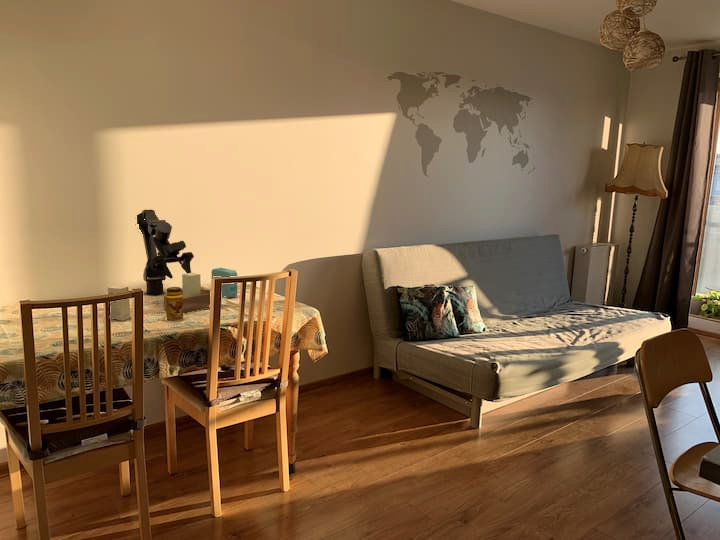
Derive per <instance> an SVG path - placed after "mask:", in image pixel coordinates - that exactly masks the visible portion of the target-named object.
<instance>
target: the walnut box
mask: <svg viewBox="0 0 720 540" xmlns="http://www.w3.org/2000/svg"><path fill="white" fill-rule="evenodd" d="M203 288H204V287H202V288H201V295H197V296H192V297H187V298H183V313H185V314H189V313H188V312H190V313H194V312H198V311H197V310H199V311H202V310H201V309H203V310H206V309H205V308H208V309H210V308H209V305H210V290H211V289H207V288H204V289H203ZM166 295H167V294H164V295H163V305H164V306H163V309H164V311H166ZM193 311H194V312H193Z"/></svg>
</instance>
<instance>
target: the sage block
mask: <svg viewBox="0 0 720 540" xmlns="http://www.w3.org/2000/svg"><path fill="white" fill-rule="evenodd" d="M181 275H182V276H181V279H182V281H181V282H182V283H181V284H182V288H181V290H182V289H183V298H187V297H192V296H197V295H201V287H202V286H201V273H196V272H191V273H182V274H181Z"/></svg>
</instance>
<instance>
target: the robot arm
mask: <svg viewBox="0 0 720 540" xmlns="http://www.w3.org/2000/svg"><path fill="white" fill-rule="evenodd" d="M136 216H137V224H139V229H140V230H141V232H142V234H143V235H142V234H141V235H142V237H143V238H142V239H143V244H144V249H145V254H146V260H147V261H146V264H145V268H143V269H144V270H143V277H142V278H143V279H142V280H144V282H146V283H145V284H146V292H144V293H143V294H144V295H149V296H159V295H162V294H165V293H166V291H164V283H163V281H166V277H168V278H169V279H173V278H174V276H173V274H172V273H171V272H172V271H170V269H169V267H168V264H172V263H178V264H179V265H180V267H181V269H182V270H183V271H184V272H186V273H185V274H187V273H192V269H191V261H192V260H193V259H194V257H195V255H194V254H193V252H191V251H188V252H183V253H182V254H181V255H180V252H181V251H184V249H185V248H187V245H186V243H185V241H184V240H180V241H177V242H176V241H175V242H172V243H170V241H169V239H170V236H171V233H172V229H173V227H172V225H171V223H170V222H168V221H167V222H166V219H160V218H159V217H158V216H157V214H156V210H154V209H144V210H142V211H141V212H140V213H139V214H137V215H136ZM144 219H145V220H144ZM179 255H180V256H179Z"/></svg>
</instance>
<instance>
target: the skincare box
mask: <svg viewBox="0 0 720 540" xmlns="http://www.w3.org/2000/svg"><path fill="white" fill-rule="evenodd" d="M129 289H130V288H129V286H124V285H123V286H122V285H113V286H112V285H111V286H108V287H107V295H108V294H114V293H121V292H126V291H129V292H130V290H129ZM130 305H131V304H130V298H129V299H124V300H119V301H113V302H111V303H110V306H111V318H113V319H117V320H116V321H125V320H129V319H131V307H130ZM113 319H112V320H113Z"/></svg>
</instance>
